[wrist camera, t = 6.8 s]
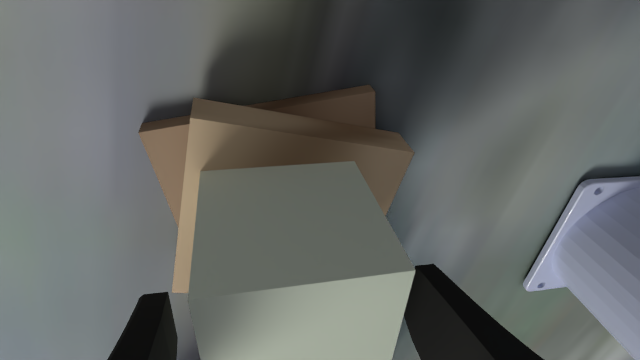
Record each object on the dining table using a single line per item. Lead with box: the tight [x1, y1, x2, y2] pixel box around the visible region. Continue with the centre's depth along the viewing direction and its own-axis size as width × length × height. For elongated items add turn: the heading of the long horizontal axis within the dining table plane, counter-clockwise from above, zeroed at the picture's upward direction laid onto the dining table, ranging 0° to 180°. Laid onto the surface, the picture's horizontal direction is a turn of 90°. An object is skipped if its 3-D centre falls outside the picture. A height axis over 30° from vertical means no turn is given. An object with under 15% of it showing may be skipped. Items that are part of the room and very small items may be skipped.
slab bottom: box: [139, 85, 375, 228], centre depth 16 cm, size 8×8×2 cm
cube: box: [188, 161, 416, 360], centre depth 12 cm, size 5×5×5 cm
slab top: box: [172, 98, 414, 293], centre depth 14 cm, size 7×7×2 cm
